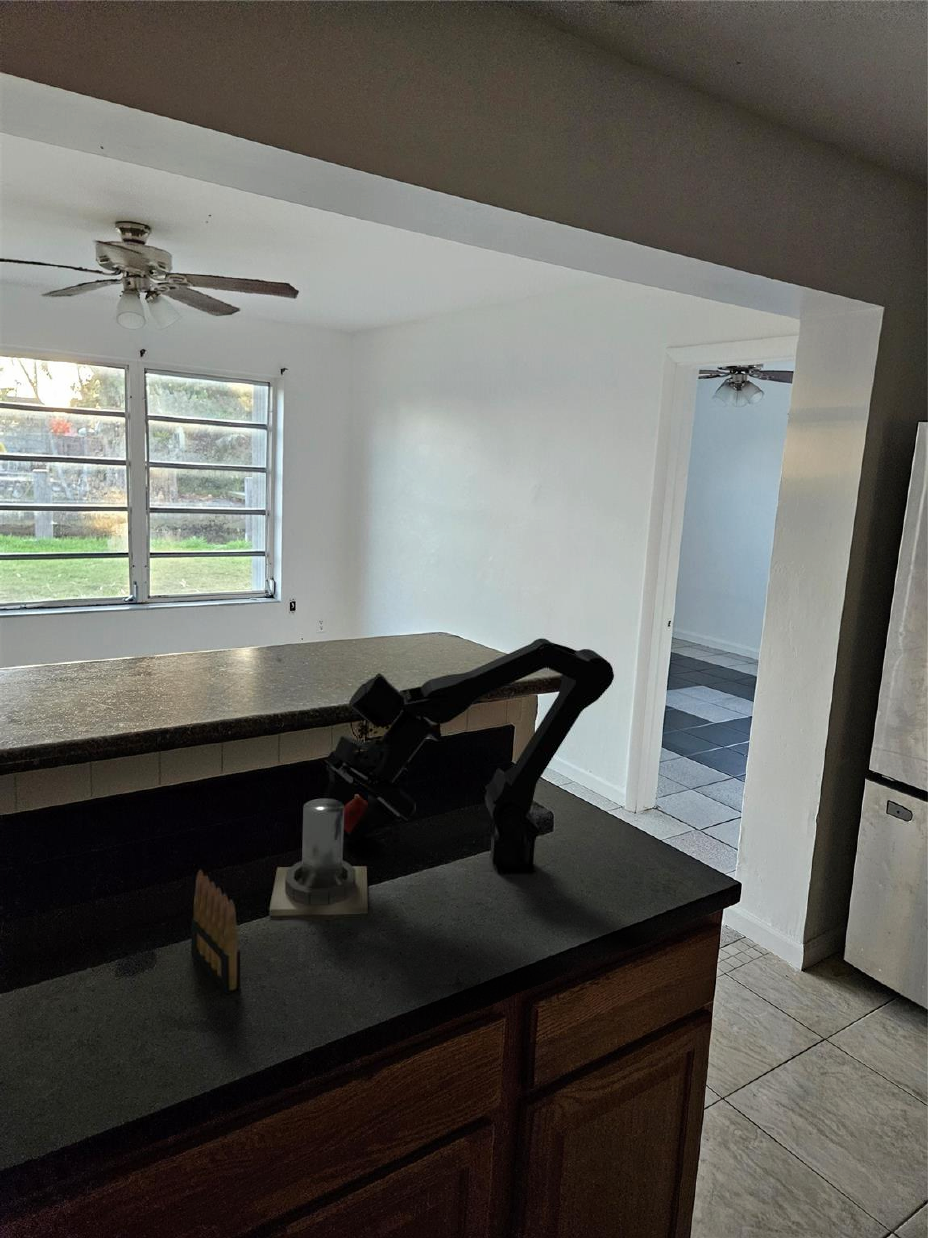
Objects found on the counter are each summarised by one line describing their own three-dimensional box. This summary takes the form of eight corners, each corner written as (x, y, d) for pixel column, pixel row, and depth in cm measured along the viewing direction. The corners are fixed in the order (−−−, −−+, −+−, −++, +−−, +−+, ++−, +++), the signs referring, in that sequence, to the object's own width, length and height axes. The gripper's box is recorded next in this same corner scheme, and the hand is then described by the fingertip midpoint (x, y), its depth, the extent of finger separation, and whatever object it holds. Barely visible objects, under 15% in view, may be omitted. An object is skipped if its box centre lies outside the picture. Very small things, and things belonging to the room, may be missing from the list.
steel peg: (341, 876, 123) (344, 798, 120) (341, 897, 117) (343, 815, 115) (302, 876, 122) (304, 798, 120) (300, 897, 116) (301, 816, 114)
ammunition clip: (241, 989, 97) (241, 901, 95) (226, 995, 96) (227, 906, 94) (204, 947, 105) (204, 864, 103) (190, 952, 104) (190, 869, 101)
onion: (376, 831, 140) (378, 789, 139) (369, 846, 135) (371, 803, 133) (344, 828, 141) (346, 786, 139) (336, 843, 135) (337, 800, 134)
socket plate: (366, 872, 126) (367, 854, 126) (367, 914, 115) (368, 895, 114) (277, 873, 124) (277, 855, 124) (269, 916, 113) (269, 897, 112)
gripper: (337, 701, 126) (272, 780, 121) (401, 735, 112) (331, 826, 107) (377, 739, 132) (317, 815, 128) (443, 776, 118) (378, 864, 113)
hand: (334, 828), depth 119 cm, fingers open, 9 cm apart
